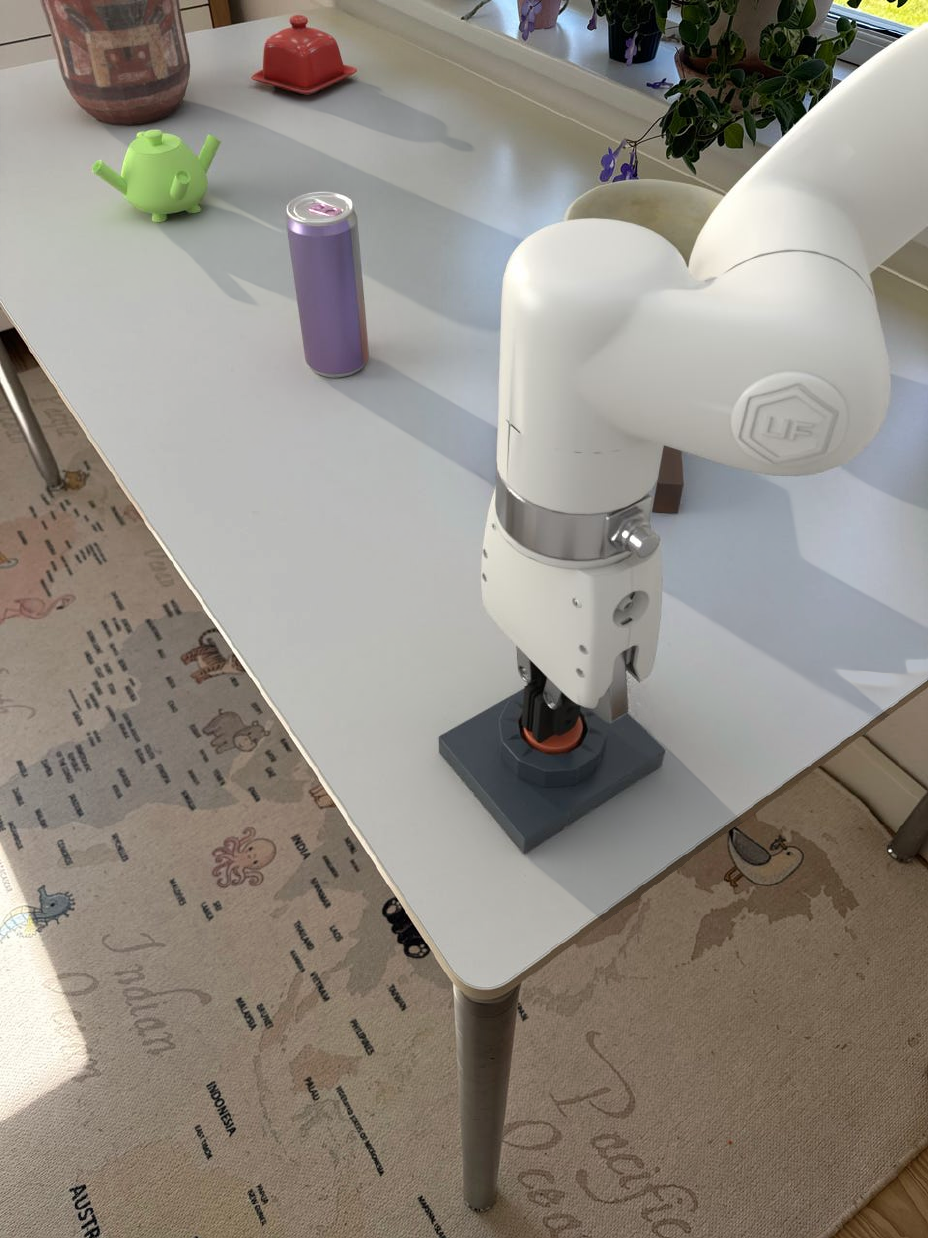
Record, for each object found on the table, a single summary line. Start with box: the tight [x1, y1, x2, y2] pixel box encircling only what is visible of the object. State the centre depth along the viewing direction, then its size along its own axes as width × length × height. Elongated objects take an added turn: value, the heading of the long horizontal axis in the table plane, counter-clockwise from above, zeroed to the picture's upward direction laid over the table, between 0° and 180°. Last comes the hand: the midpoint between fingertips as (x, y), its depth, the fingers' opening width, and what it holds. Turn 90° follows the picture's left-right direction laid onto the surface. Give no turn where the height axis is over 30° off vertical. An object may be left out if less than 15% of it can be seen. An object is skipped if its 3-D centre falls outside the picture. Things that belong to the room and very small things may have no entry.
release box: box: [437, 688, 666, 855], centre depth 63 cm, size 11×9×4 cm
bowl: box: [562, 178, 726, 268], centre depth 97 cm, size 18×18×10 cm
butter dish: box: [250, 14, 358, 96], centre depth 139 cm, size 12×12×8 cm
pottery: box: [39, 0, 191, 126], centre depth 130 cm, size 18×18×18 cm
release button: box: [523, 716, 583, 755], centre depth 62 cm, size 4×4×2 cm
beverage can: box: [285, 191, 370, 379], centre depth 89 cm, size 6×6×15 cm
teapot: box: [91, 129, 222, 223], centre depth 113 cm, size 11×12×8 cm
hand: (550, 723), depth 61 cm, fingers closed
